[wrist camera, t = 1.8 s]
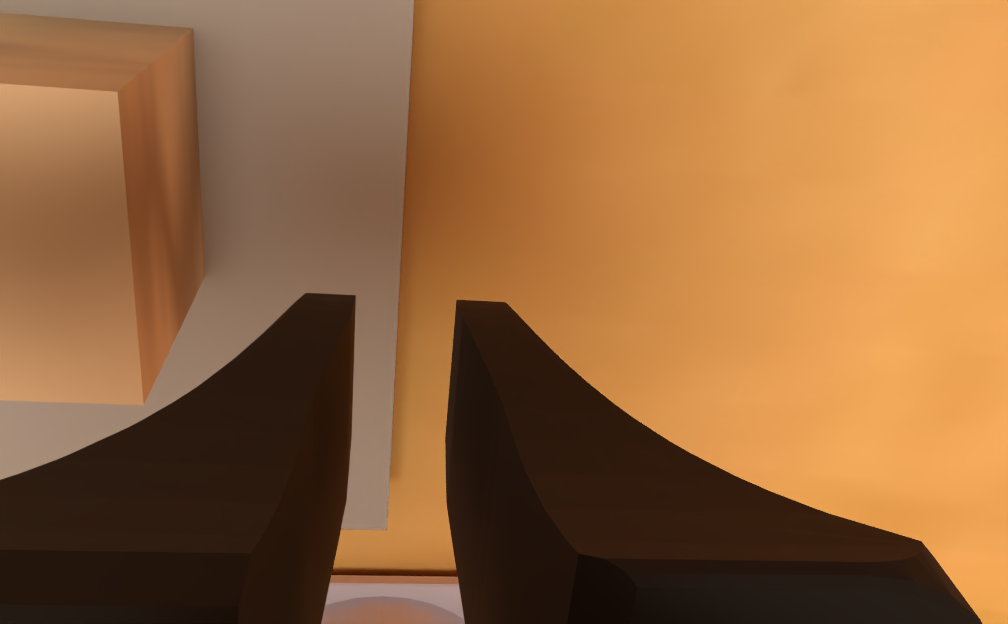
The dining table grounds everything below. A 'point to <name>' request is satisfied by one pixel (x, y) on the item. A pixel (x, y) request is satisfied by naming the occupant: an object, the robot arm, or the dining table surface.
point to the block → (95, 206)
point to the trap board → (274, 207)
